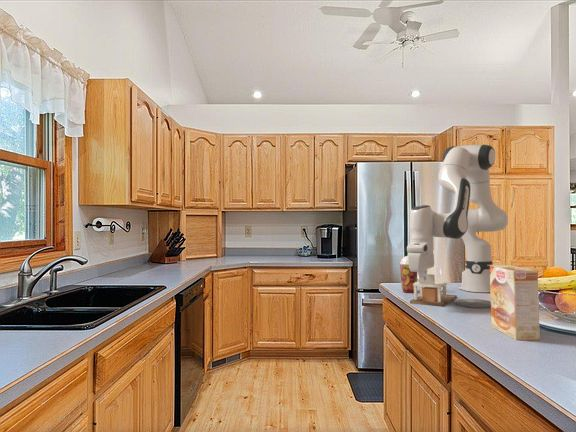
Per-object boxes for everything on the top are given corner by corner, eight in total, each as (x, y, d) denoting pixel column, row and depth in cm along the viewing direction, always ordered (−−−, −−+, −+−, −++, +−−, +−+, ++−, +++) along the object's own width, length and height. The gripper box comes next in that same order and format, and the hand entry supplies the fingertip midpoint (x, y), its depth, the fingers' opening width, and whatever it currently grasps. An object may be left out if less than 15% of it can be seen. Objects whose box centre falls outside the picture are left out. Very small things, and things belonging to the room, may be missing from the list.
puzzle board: (426, 295, 187) (426, 292, 187) (456, 297, 179) (456, 295, 179) (409, 303, 169) (409, 300, 169) (442, 306, 161) (442, 303, 161)
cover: (420, 296, 177) (419, 271, 177) (447, 298, 170) (446, 272, 171) (413, 299, 170) (412, 273, 170) (440, 302, 163) (440, 275, 163)
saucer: (459, 300, 174) (459, 297, 174) (496, 303, 165) (496, 300, 165) (451, 305, 162) (450, 303, 162) (489, 309, 154) (489, 306, 154)
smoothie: (403, 290, 201) (402, 249, 202) (420, 291, 197) (419, 249, 197) (397, 292, 195) (396, 250, 195) (415, 294, 190) (414, 250, 190)
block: (426, 300, 174) (425, 286, 174) (438, 302, 171) (437, 287, 171) (422, 302, 169) (421, 288, 170) (434, 304, 167) (434, 289, 167)
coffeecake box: (490, 326, 130) (488, 265, 130) (513, 326, 129) (511, 264, 130) (515, 340, 115) (513, 270, 115) (541, 340, 114) (539, 270, 115)
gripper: (422, 244, 174) (423, 277, 173) (405, 247, 157) (405, 283, 157) (437, 244, 170) (438, 278, 170) (421, 247, 153) (422, 284, 153)
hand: (422, 280), depth 163 cm, fingers closed
